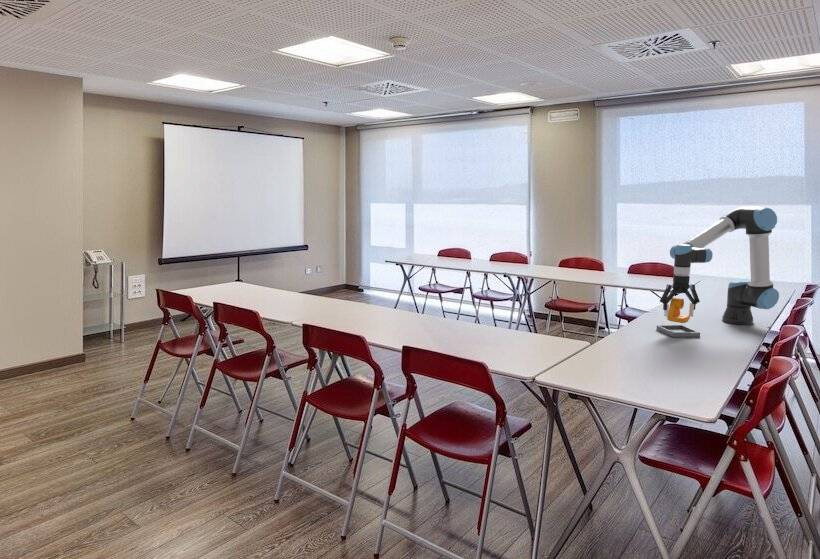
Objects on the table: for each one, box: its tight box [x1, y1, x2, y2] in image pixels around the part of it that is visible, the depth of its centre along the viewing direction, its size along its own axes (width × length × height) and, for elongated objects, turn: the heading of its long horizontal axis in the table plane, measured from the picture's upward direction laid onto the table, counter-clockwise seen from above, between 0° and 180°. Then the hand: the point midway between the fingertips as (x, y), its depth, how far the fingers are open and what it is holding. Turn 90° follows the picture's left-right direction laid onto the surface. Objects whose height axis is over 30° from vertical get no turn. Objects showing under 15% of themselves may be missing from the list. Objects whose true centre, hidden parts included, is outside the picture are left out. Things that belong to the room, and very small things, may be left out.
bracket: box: [666, 296, 691, 324], centre depth 291 cm, size 11×7×12 cm, turn 133°
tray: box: [656, 324, 701, 339], centre depth 292 cm, size 14×17×2 cm
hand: (678, 316), depth 291 cm, fingers closed on bracket, 12 cm apart
